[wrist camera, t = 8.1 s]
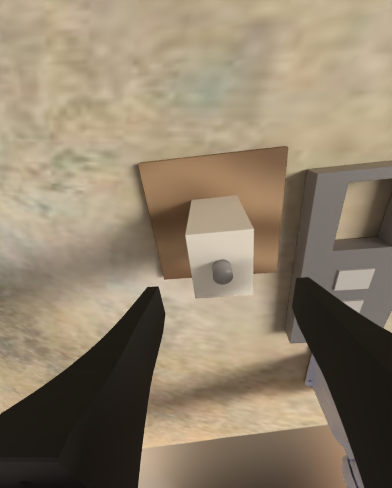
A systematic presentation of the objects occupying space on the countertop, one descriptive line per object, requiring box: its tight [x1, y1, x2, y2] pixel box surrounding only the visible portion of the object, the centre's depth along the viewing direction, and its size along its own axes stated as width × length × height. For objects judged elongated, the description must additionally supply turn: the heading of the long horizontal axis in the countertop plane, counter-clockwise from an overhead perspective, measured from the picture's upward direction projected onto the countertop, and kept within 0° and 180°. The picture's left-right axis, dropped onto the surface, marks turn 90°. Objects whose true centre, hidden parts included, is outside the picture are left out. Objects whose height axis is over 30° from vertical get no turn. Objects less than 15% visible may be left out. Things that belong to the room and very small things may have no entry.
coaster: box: [138, 146, 288, 279], centre depth 20 cm, size 12×12×1 cm
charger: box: [185, 195, 254, 298], centre depth 16 cm, size 5×4×8 cm
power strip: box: [285, 161, 392, 343], centre depth 21 cm, size 20×10×3 cm, turn 6°
